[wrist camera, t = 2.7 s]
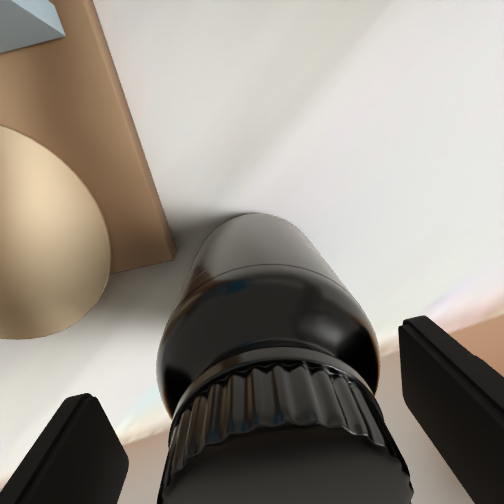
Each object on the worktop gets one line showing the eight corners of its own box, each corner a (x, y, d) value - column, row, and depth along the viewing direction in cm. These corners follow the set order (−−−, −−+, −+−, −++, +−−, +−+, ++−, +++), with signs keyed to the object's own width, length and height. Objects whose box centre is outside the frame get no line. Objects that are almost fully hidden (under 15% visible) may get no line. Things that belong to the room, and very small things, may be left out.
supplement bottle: (335, 237, 16) (562, 445, 5) (283, 333, 18) (357, 638, 7) (220, 189, 15) (166, 314, 4) (179, 297, 17) (60, 593, 6)
